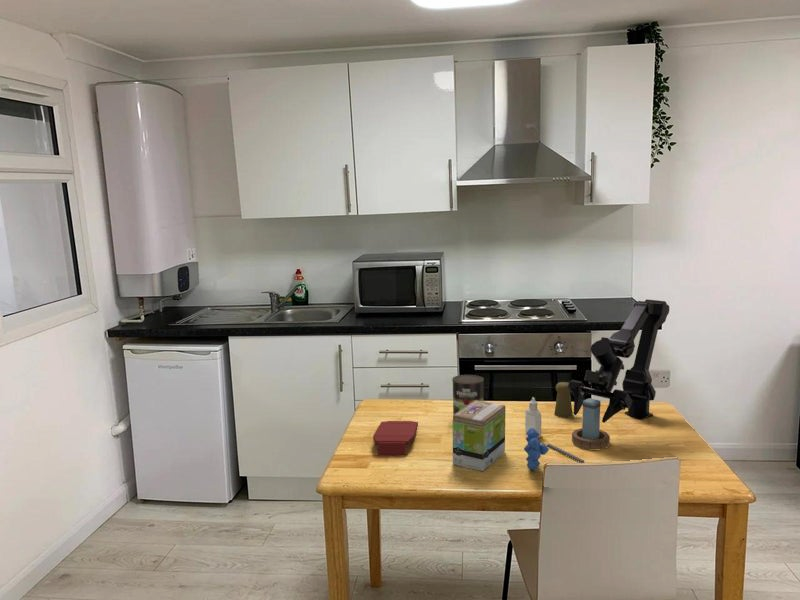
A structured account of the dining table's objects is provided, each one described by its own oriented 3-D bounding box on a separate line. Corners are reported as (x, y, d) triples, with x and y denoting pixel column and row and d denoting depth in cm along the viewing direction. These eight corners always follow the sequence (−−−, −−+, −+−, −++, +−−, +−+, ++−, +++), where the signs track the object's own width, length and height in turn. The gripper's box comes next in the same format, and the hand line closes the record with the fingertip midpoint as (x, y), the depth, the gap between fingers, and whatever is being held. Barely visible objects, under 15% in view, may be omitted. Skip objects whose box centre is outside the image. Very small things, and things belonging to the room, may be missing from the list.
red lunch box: (382, 435, 207) (371, 456, 182) (381, 420, 207) (370, 439, 182) (418, 435, 205) (412, 456, 181) (418, 421, 205) (412, 439, 181)
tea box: (484, 472, 168) (484, 420, 166) (451, 465, 174) (450, 414, 171) (506, 452, 181) (506, 403, 178) (474, 445, 186) (474, 398, 184)
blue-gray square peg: (588, 439, 188) (589, 398, 186) (599, 442, 185) (600, 400, 183) (581, 442, 185) (582, 401, 183) (592, 446, 183) (594, 403, 181)
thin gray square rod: (549, 445, 184) (549, 443, 184) (584, 462, 172) (584, 460, 172) (546, 446, 184) (546, 444, 184) (581, 463, 172) (581, 461, 172)
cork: (571, 411, 212) (571, 380, 210) (574, 417, 206) (574, 385, 204) (553, 411, 212) (553, 380, 211) (555, 417, 207) (556, 385, 205)
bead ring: (590, 433, 192) (590, 425, 192) (616, 444, 183) (616, 436, 183) (565, 440, 188) (565, 432, 187) (590, 452, 178) (590, 444, 178)
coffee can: (482, 425, 202) (482, 384, 199) (451, 424, 204) (450, 383, 202) (485, 414, 212) (484, 374, 209) (455, 413, 214) (454, 373, 211)
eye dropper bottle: (527, 438, 190) (527, 400, 188) (524, 431, 196) (524, 394, 194) (541, 438, 190) (542, 400, 188) (538, 431, 196) (538, 394, 194)
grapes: (551, 480, 163) (551, 436, 161) (525, 479, 164) (525, 436, 162) (546, 461, 174) (547, 420, 172) (522, 460, 175) (522, 419, 173)
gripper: (570, 354, 191) (550, 397, 185) (628, 365, 177) (608, 412, 172) (583, 373, 197) (564, 415, 192) (640, 385, 184) (621, 431, 178)
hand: (588, 418), depth 183 cm, fingers open, 9 cm apart
